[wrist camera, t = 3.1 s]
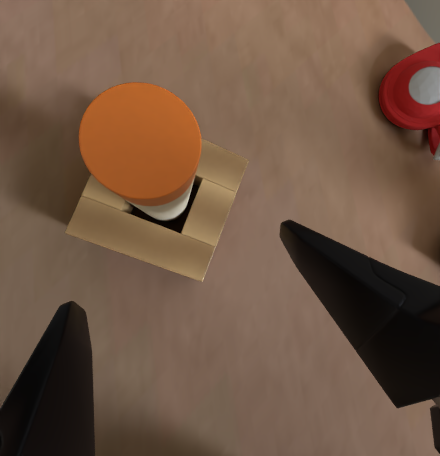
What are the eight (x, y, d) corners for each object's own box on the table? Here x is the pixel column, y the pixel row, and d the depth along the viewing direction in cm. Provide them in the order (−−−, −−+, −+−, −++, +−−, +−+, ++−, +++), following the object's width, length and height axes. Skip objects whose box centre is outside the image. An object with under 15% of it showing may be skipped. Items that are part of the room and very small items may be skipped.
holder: (198, 274, 22) (202, 282, 18) (83, 233, 20) (64, 233, 17) (238, 170, 23) (249, 159, 19) (131, 123, 21) (122, 101, 18)
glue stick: (178, 228, 22) (176, 217, 8) (136, 211, 21) (56, 170, 7) (193, 189, 22) (218, 113, 8) (153, 171, 21) (107, 60, 8)
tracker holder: (367, 96, 24) (437, 13, 23) (350, 116, 29) (408, 46, 28) (470, 166, 23) (549, 81, 22) (436, 176, 27) (501, 105, 26)
